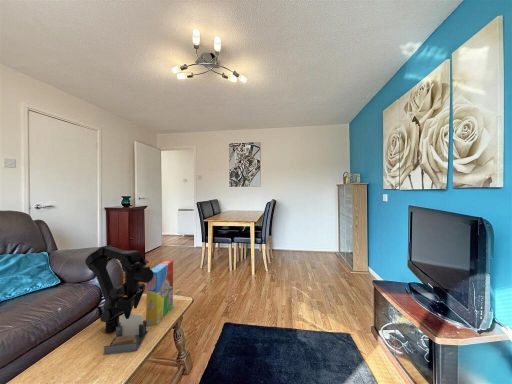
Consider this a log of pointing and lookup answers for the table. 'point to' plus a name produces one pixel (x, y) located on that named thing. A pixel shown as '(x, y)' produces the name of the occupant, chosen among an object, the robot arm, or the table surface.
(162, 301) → the game box
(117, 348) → the rack
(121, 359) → the table surface
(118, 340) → the offcut upper
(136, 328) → the panel
